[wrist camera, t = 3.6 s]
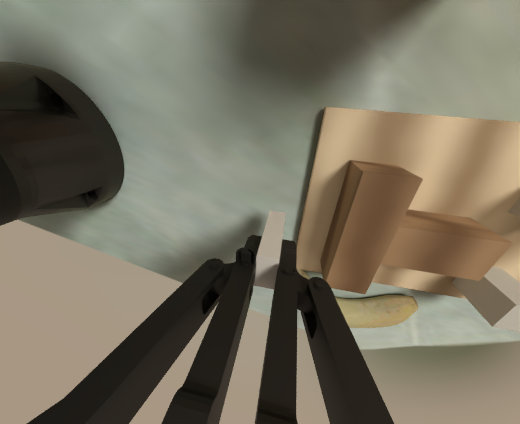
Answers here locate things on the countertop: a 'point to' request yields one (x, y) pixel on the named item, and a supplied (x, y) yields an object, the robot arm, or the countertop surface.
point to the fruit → (375, 309)
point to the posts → (495, 293)
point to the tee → (399, 232)
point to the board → (429, 169)
